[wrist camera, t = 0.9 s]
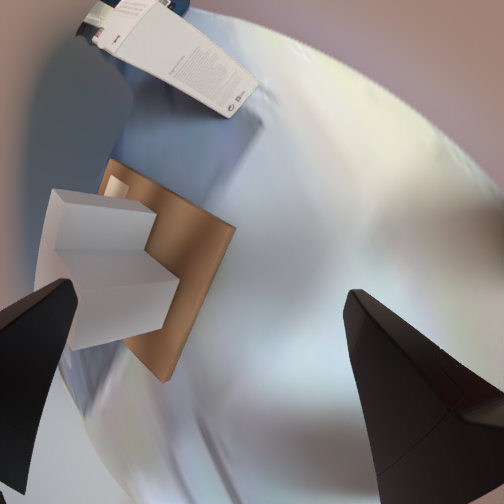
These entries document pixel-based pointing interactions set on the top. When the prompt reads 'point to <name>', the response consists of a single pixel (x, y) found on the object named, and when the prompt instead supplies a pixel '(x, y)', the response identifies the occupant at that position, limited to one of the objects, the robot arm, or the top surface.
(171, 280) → the white block
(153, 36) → the skincare box
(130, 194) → the brown board
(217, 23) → the top surface
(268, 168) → the top surface
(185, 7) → the soda can
